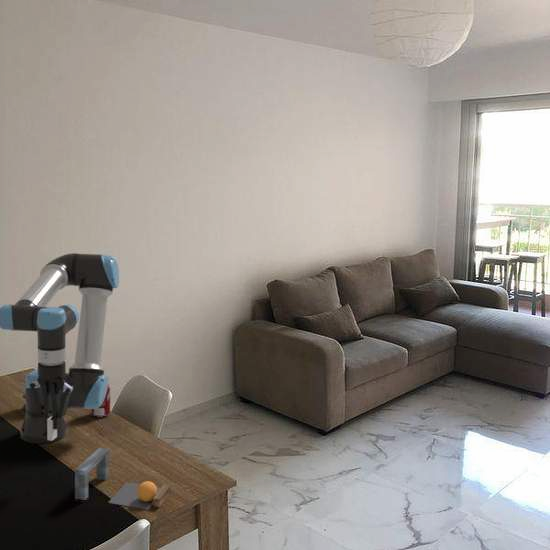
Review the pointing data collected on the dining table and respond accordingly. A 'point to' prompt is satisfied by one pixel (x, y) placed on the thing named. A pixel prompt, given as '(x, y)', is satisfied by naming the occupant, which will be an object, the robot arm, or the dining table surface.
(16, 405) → the dining table surface
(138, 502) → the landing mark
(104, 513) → the dining table surface
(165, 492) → the stopper wall
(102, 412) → the soda can
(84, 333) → the robot arm
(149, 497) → the ball
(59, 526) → the dining table surface
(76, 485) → the bridge
